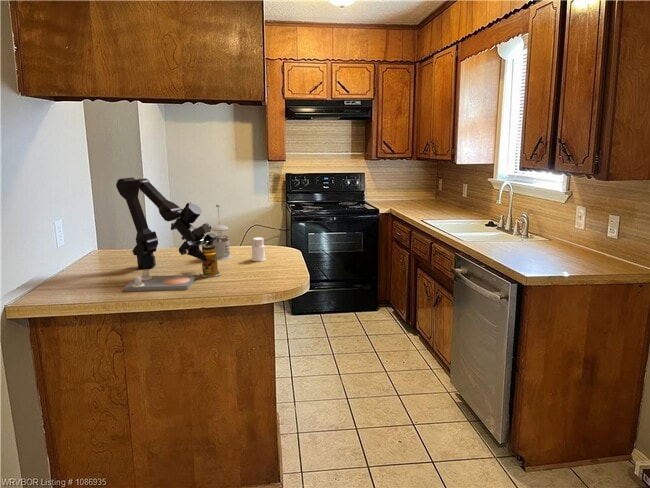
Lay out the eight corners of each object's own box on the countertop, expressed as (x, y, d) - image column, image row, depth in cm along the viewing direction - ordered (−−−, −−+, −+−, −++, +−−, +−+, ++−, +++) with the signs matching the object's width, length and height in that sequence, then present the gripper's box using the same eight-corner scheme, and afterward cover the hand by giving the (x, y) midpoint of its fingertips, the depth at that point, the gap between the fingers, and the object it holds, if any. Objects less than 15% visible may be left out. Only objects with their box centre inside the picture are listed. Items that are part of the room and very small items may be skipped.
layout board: (124, 291, 175) (123, 279, 174) (137, 279, 189) (136, 268, 188) (187, 289, 176) (186, 277, 175) (195, 278, 190) (195, 267, 189)
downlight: (250, 262, 213) (250, 240, 211) (248, 258, 220) (248, 237, 217) (268, 261, 215) (268, 239, 213) (265, 257, 222) (265, 236, 220)
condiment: (203, 277, 190) (201, 248, 188) (199, 272, 198) (197, 244, 195) (221, 275, 193) (219, 246, 191) (217, 270, 201) (215, 242, 198)
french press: (210, 260, 217) (206, 206, 211) (210, 254, 228) (206, 202, 222) (232, 259, 219) (229, 205, 213) (231, 253, 230) (228, 201, 224)
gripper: (182, 221, 183) (207, 251, 181) (211, 214, 200) (235, 241, 198) (167, 240, 188) (192, 269, 186) (197, 231, 204) (220, 258, 203)
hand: (211, 258), depth 193 cm, fingers closed on condiment, 6 cm apart
